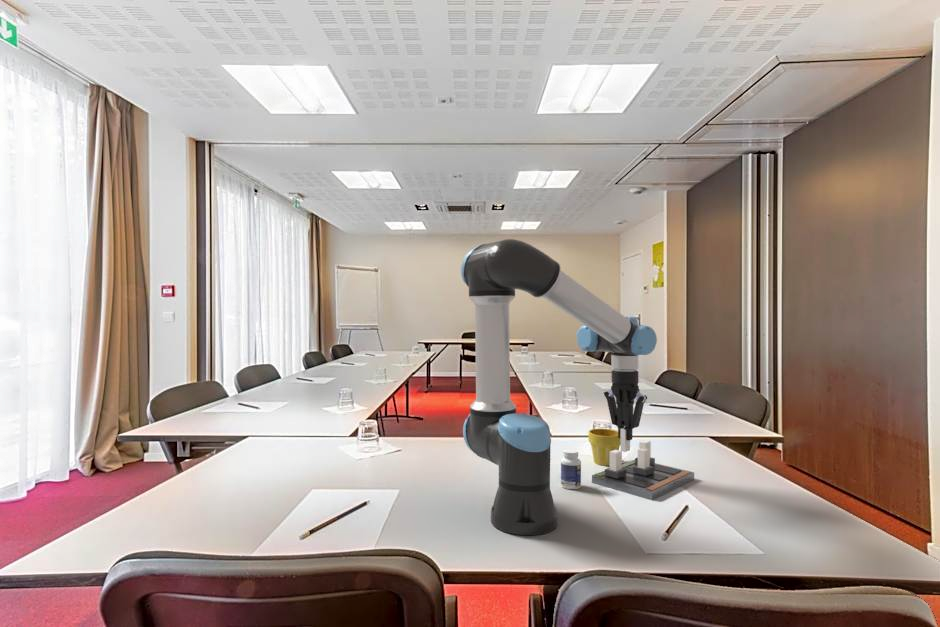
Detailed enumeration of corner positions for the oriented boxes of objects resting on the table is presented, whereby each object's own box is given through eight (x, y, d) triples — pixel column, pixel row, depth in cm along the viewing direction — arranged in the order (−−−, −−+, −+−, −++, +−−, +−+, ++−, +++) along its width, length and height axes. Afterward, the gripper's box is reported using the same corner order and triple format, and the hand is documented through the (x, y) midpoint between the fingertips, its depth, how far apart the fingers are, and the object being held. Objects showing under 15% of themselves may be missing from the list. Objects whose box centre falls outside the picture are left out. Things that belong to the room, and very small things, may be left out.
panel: (652, 500, 129) (652, 491, 129) (591, 482, 142) (591, 474, 142) (694, 479, 145) (694, 471, 145) (636, 465, 159) (636, 458, 159)
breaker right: (647, 466, 149) (647, 444, 149) (634, 463, 152) (635, 441, 152) (654, 463, 152) (654, 441, 152) (642, 460, 155) (642, 439, 155)
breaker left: (617, 478, 138) (617, 454, 138) (604, 475, 141) (604, 451, 141) (626, 475, 141) (626, 451, 141) (613, 471, 144) (613, 448, 144)
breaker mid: (646, 475, 141) (646, 452, 141) (633, 472, 144) (633, 449, 144) (654, 472, 144) (654, 449, 144) (641, 469, 147) (641, 446, 147)
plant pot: (626, 468, 156) (626, 436, 156) (592, 467, 156) (592, 435, 156) (617, 458, 166) (617, 428, 166) (585, 458, 166) (585, 428, 166)
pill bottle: (581, 490, 136) (581, 454, 136) (560, 489, 137) (560, 453, 137) (580, 483, 141) (580, 448, 141) (561, 482, 142) (561, 447, 142)
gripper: (652, 370, 146) (652, 452, 146) (612, 366, 156) (612, 443, 156) (638, 372, 141) (639, 457, 141) (598, 368, 150) (598, 448, 151)
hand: (625, 450), depth 148 cm, fingers closed
